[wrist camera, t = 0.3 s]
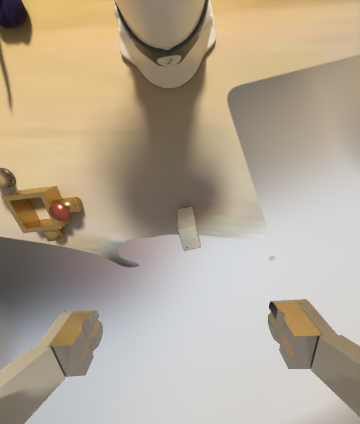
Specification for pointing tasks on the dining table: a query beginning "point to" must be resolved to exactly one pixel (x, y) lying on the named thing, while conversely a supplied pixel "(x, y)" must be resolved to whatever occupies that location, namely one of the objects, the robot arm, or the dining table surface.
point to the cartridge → (6, 178)
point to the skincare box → (188, 229)
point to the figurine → (12, 13)
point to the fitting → (54, 207)
